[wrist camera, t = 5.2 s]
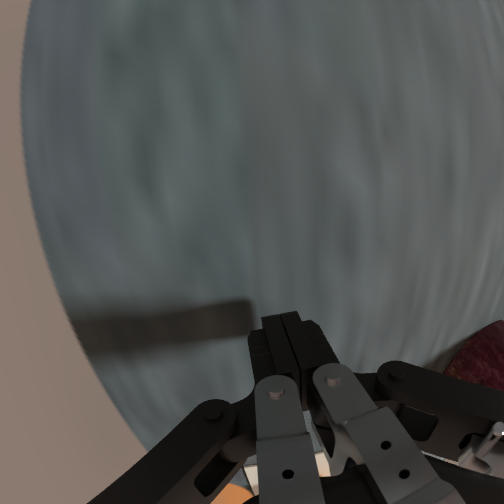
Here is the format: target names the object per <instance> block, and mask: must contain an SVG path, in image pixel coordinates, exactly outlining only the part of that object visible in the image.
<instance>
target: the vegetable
mask: <svg viewBox="0 0 504 504" xmlns="http://www.w3.org/2000/svg"><path fill="white" fill-rule="evenodd" d="M443 374H444V375H447V376H451V377H454V378H457V379H461V380H465V381H468V382H472V383H475V384H479V385H483V386H486V387H490V388H494V389H498V390H502V391H504V321H503V320H500V321H497V322H494V323H493V324H491V325H489V326H487V327H486V328H484V329H482V330H481V331H478V332H477V333H476V334H475V335H474V336H473V337H472V338H471V339H469V340H468V341H467V342H466V344H465V345H464V346H463V347H462V348H461V350H460V351H459V352H458V353H457V355H456V356H455V357H454V359H453V361H452V362H451V363H450V365H449V366H448V367H447V369H446V370H445V371H444V373H443Z"/></svg>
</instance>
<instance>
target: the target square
mask: <svg viewBox="0 0 504 504" xmlns="http://www.w3.org/2000/svg"><path fill="white" fill-rule="evenodd" d="M315 458H316V462H317V467H318V472H319V476H322V477H325V476H331V475H330V470H329V464H328V462H327V459H326V457H325V455H324V453H323V451H321V452H317V453H315ZM244 469H245V472H246V474H247V477H248V480H249V482H250V485H251V487H252V490H253V492H254V495H255V496H256V495H258V494H259V489H258V472H257V464H256V465H248V466H244Z"/></svg>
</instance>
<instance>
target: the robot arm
mask: <svg viewBox="0 0 504 504" xmlns="http://www.w3.org/2000/svg"><path fill="white" fill-rule="evenodd" d="M261 319H262V328H263V329H259V330H252V331H251V332H250V334H249V336H248V339H247V340H248V346H249V352H250V357H251V363H252V369H253V375H254V381H255V385H254V389H253V391H252V392H251V393H250V395H248V396H247V397H246V398H244V399H243V400H241V401H238V402H236V403H233V404H230V403H229V402H227V401H224V400H220V399H212V400H208V401H205V402H203V403H201V404H199V405H198V406H197V407H196V408H195V409H194V410H193V411H192V412H191V413H190V414H189V415H188V416H187V417H186V418H185V419H184V420H183V421H181V422H180V423H179V424H178V425H177V426H176V427H175V428H174V429H173V430H172V431H171V432H170V433H169V434H168V435H167V436H166V437H165V438H164V439H162V440H161V441H160V442H159V443H158V444H157V445H156V446H155V447H154V448H153V449H152V450H150V451H149V452H148V453H147V454H146V455H145V456H144V457H143V458H142V459H140V460H139V461H138V462H137V463H136V464H135V465H134V466H132V467H131V468H130V469H129V470H128V471H126V472H125V473H124V474H123V475H122V476H121V477H119V478H118V479H117V480H116V481H115V482H113V483H112V484H111V485H110V486H109V487H107V488H106V489H105V490H104V491H102V492H101V493H100V494H99V495H97V496H96V497H95V498H93V499H92V500H91V501H90V502H88V503H87V504H210V503H211V502H212V501H213V500H214V499H215V498H216V497H217V495H218V494H219V493H220V492H221V491H222V490H223V489H224V487H225V486H226V485H227V484H228V483H229V481H230V480H231V479H232V478H233V477H234V475H235V474H236V473H237V472H238V471H239V469H240V468H241V467H242V466H243V464H244V463H245V462H246V460H247V458H248V457H250V456H253V455H255V454H256V456H257V472H258V489H259V494H258V495H256V496H254V497H252V498H250V499H249V500H247V501H246V502H244V503H243V504H504V391H502V390H498V389H494V388H490V387H486V386H483V385H479V384H475V383H472V382H468V381H465V380H461V379H457V378H454V377H451V376H447V375H444V374H441V373H437V372H434V371H431V370H427V369H424V368H421V367H418V366H415V365H412V364H409V363H406V362H402V361H389V362H386V363H384V364H382V365H381V366H380V367H379V369H378V371H377V373H364V374H359V373H354V372H352V371H351V369H350V368H348V367H347V366H345V365H342V364H340V362H339V361H338V359H337V357H336V355H335V353H334V352H333V350H332V348H331V346H330V344H329V342H328V341H327V339H326V337H325V335H324V334H323V332H322V330H321V328H320V326H319V325H318V324H316V323H315V322H313V321H312V320H307V321H301V318H300V316H299V314H298V312H297V311H293V312H287V313H282V314H277V315H271V316H265V317H261ZM405 405H408V406H410V407H413V408H416V409H419V410H422V411H425V412H428V413H431V414H434V415H429V414H426V413H424V412H421V411H418V410H415V409H412V408H409V407H406V406H405ZM307 410H309V411H310V414H311V426H312V428H313V431H314V433H315V435H316V437H317V439H318V442H319V444H320V446H321V448H322V450H323V453H324V455H325V457H326V459H327V462H328V464H329V470H330V475H331V476H325V477H320V476H319V472H318V467H317V462H316V458H315V453H314V449H313V444H312V440H311V436H310V433H309V432H307V429H306V425H305V420H304V416H303V411H307ZM420 450H422V451H424V452H427V453H430V454H433V455H436V456H440V457H443V458H446V459H449V460H453V461H456V462H458V464H459V466H457V465H454V464H451V463H448V462H445V461H442V460H440V459H437V458H434V457H431V456H428V455H424V454H423V453H422V452H421V451H420Z"/></svg>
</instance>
